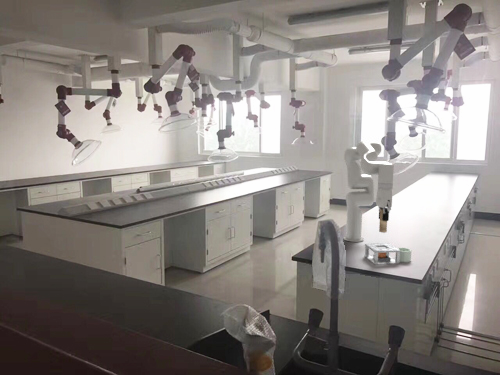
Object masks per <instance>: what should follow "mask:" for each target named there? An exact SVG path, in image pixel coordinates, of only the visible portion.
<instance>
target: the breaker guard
mask: <svg viewBox="0 0 500 375" xmlns="http://www.w3.org/2000/svg"><path fill="white" fill-rule="evenodd" d="M364 246H365V248H364V249H365V251H364V258H366V259H367V260H369V262H371V263H372V264H373V265H392V264H393V265H394V264H397V265H398V264H399V265H400V261H399V259H400V252H401V250H399V249H398V248H399V247H396V246H395V245H393V244H392V243H390V242H378V243H364ZM370 251H372V252H373V253H374V254H371V255H370ZM378 253H386V258H379V257H378ZM390 253H395V257H394V258H393V257H392V256H390Z"/></svg>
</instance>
